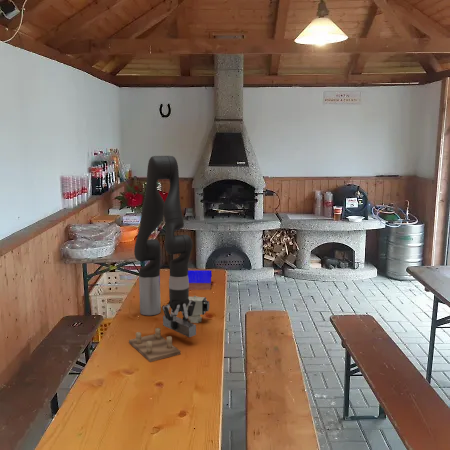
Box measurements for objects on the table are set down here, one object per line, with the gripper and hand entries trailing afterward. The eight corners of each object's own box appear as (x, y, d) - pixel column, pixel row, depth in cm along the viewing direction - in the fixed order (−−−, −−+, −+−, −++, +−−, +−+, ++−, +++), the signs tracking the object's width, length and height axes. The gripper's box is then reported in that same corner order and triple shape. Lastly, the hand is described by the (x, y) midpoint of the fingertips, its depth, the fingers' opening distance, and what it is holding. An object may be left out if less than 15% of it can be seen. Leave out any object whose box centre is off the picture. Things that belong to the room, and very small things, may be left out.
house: (174, 288, 257) (174, 267, 255) (211, 288, 256) (211, 267, 254) (171, 295, 245) (171, 273, 243) (210, 295, 244) (210, 273, 243)
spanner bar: (163, 325, 192) (163, 316, 191) (170, 323, 194) (170, 313, 193) (189, 337, 180) (189, 327, 180) (196, 334, 183) (196, 325, 182)
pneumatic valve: (207, 325, 202) (206, 298, 200) (180, 323, 204) (180, 296, 203) (210, 321, 207) (210, 294, 206) (184, 319, 210) (183, 292, 208)
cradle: (128, 342, 184) (128, 330, 184) (157, 336, 191) (157, 323, 190) (150, 361, 168) (149, 347, 167) (180, 354, 174) (180, 340, 173)
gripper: (190, 280, 191) (190, 321, 194) (157, 286, 183) (158, 328, 186) (199, 285, 185) (199, 327, 188) (166, 291, 177) (166, 335, 180)
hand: (179, 327), depth 187 cm, fingers closed on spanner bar, 4 cm apart
